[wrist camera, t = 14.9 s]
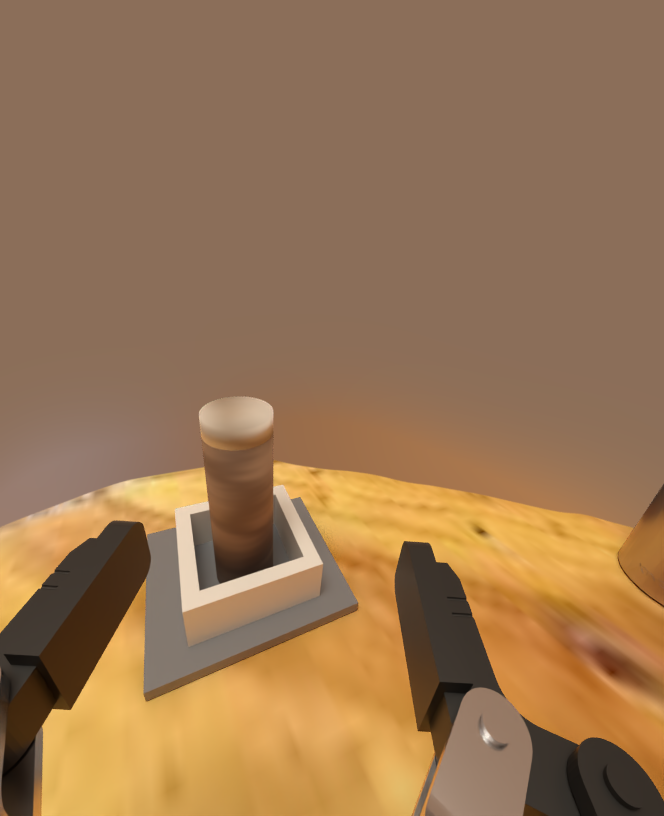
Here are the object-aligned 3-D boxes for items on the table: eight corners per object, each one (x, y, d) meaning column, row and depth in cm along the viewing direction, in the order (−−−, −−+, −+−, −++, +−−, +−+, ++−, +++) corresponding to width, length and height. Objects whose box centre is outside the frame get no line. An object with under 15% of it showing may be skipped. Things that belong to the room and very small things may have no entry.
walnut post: (264, 538, 33) (262, 393, 26) (280, 580, 29) (282, 422, 22) (212, 554, 31) (195, 400, 24) (221, 601, 27) (203, 434, 20)
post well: (299, 503, 40) (301, 469, 37) (356, 610, 28) (364, 570, 26) (149, 541, 33) (140, 503, 31) (146, 701, 22) (132, 658, 19)
